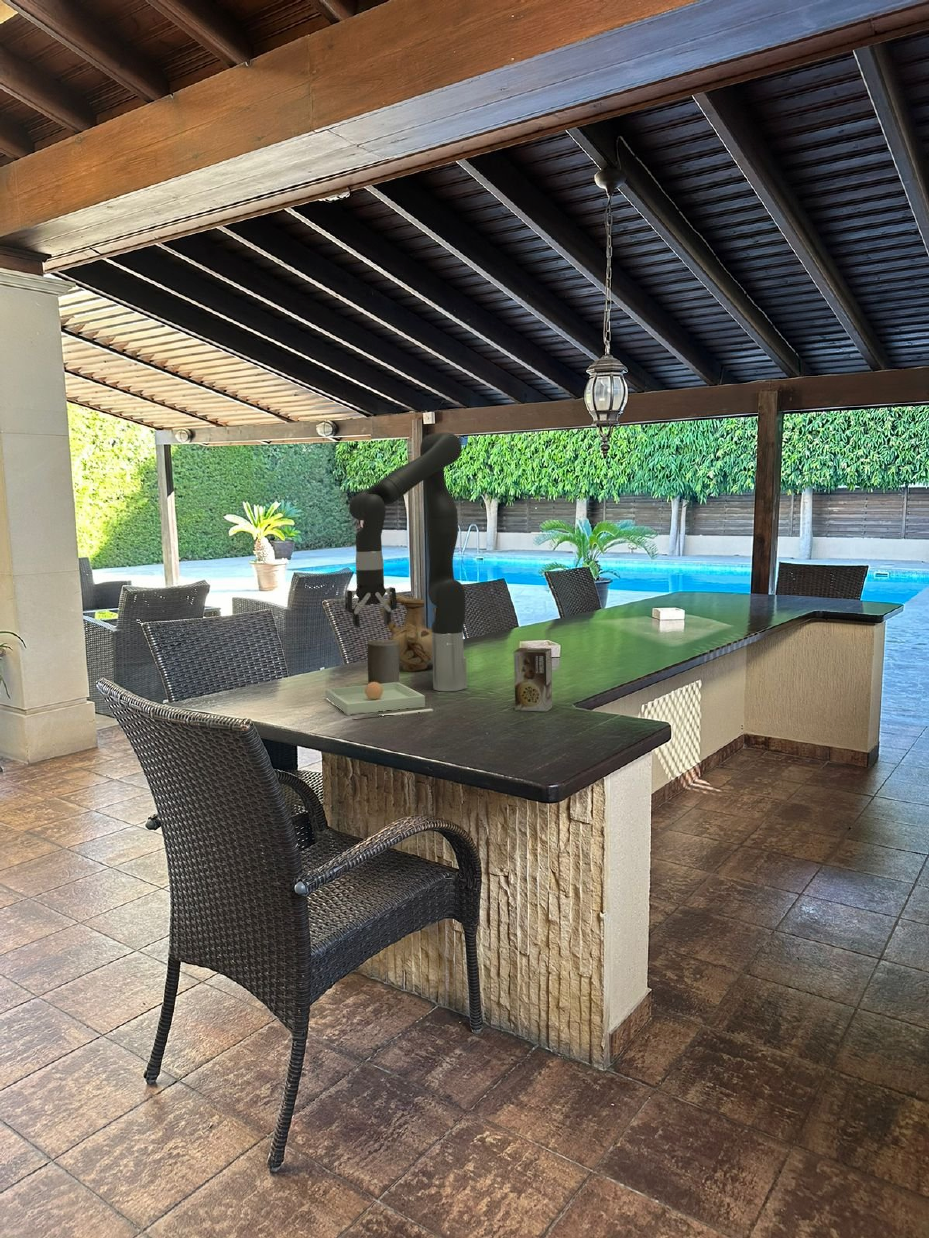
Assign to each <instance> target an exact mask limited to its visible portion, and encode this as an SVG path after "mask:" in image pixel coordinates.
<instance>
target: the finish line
mask: <svg viewBox="0 0 929 1238" xmlns="http://www.w3.org/2000/svg"><path fill="white" fill-rule="evenodd" d="M433 711H434V709H433V708H425V709H418V710H417V709H416V710H409V711H400V712H390V713H384V714H383V713H380V715H382V716H384V715H394V716H401V715H402V714H403V715H409V714H418V712H420V713H427V712H428V713H429V712H433Z"/></svg>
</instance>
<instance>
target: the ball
mask: <svg viewBox="0 0 929 1238" xmlns="http://www.w3.org/2000/svg"><path fill="white" fill-rule="evenodd" d="M366 685H367V686H366V688H365V694H366V696H367V697H368V698H369V699H372V700H376V699H378V698H380V697H381V696H382V693H383V688H382V686H381V685H380V684H379V683H377V682H371V683H369V684H366Z"/></svg>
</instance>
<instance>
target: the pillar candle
mask: <svg viewBox="0 0 929 1238" xmlns="http://www.w3.org/2000/svg"><path fill="white" fill-rule="evenodd" d="M366 651H367V680H368V682H367V683H368V684H369V683H371V682H377V683H379V684H383V683H393V682H399V683H400V661H399V642H397V641H393V640H390V639H389V640H388V639H384V638H383V637H382V638H381V639H378V640H370V641H368V642H367V650H366ZM368 684H367V685H368Z"/></svg>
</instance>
